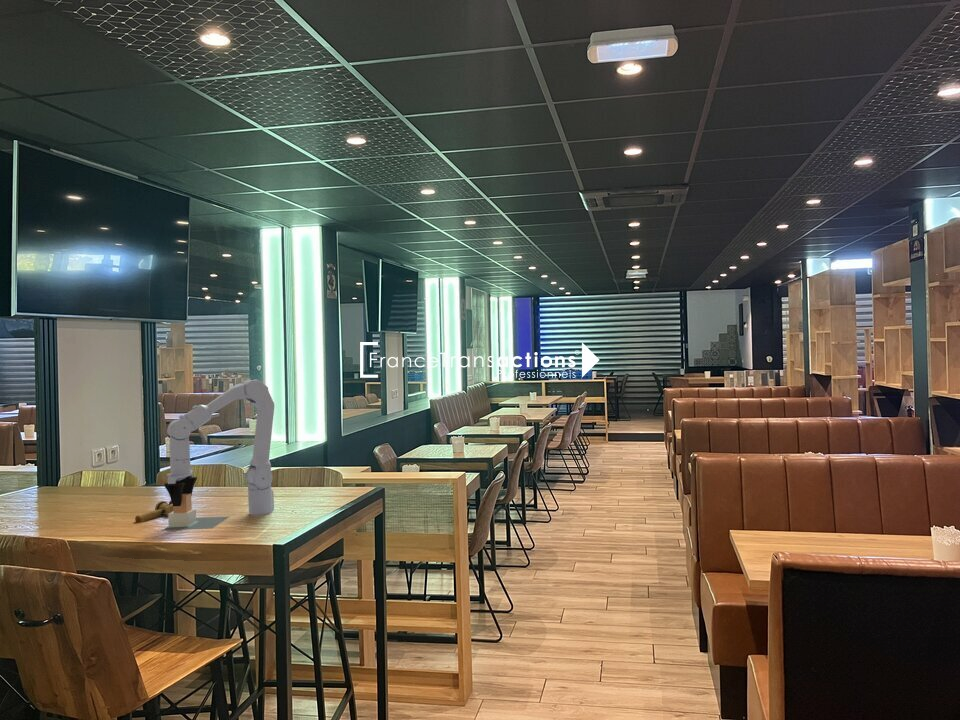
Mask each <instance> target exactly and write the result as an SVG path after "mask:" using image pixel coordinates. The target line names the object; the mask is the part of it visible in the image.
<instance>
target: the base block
mask: <svg viewBox="0 0 960 720" xmlns="http://www.w3.org/2000/svg"><path fill="white" fill-rule="evenodd" d="M167 518H168V526H169V527H184V526H190V525H192V524H193V523H195V522H196V518H197V509H196V508H192V510H190V511H189V512H187V513H173V512H171V513H169V514H168V517H167Z"/></svg>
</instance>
